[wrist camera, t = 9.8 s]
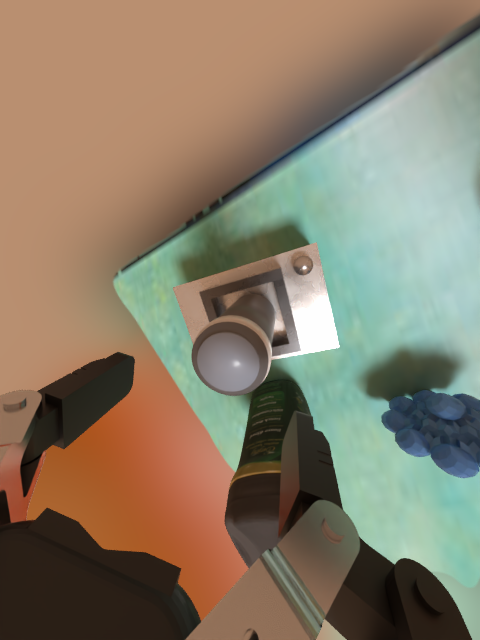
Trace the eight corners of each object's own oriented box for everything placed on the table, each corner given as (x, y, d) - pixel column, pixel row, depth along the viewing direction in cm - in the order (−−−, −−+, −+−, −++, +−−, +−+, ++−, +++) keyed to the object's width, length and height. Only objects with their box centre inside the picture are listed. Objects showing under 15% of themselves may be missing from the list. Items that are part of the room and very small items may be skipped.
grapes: (466, 353, 27) (595, 425, 16) (475, 401, 28) (601, 499, 17) (363, 376, 30) (409, 449, 19) (375, 418, 31) (425, 509, 20)
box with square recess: (310, 244, 27) (319, 241, 19) (329, 329, 29) (343, 355, 22) (193, 281, 31) (163, 290, 24) (217, 352, 34) (197, 381, 26)
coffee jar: (245, 385, 34) (202, 522, 17) (295, 371, 32) (306, 513, 14) (268, 436, 36) (251, 609, 18) (317, 427, 34) (351, 613, 16)
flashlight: (235, 287, 24) (194, 312, 13) (283, 299, 23) (280, 337, 13) (225, 331, 26) (182, 385, 15) (270, 344, 25) (258, 410, 15)
